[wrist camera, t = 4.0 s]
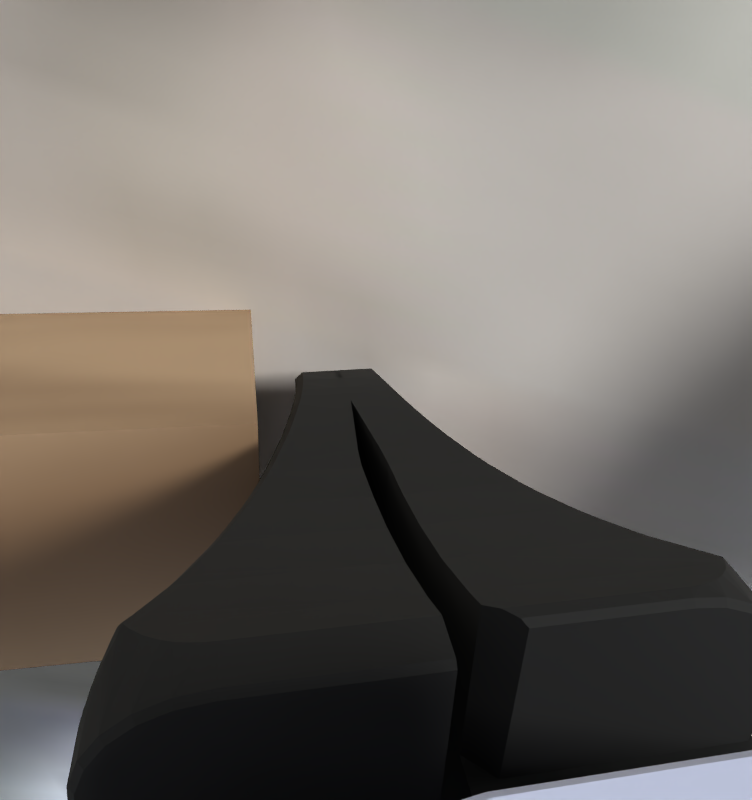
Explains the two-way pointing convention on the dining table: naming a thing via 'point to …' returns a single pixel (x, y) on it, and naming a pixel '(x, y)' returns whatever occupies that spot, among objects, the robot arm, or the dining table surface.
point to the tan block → (114, 466)
